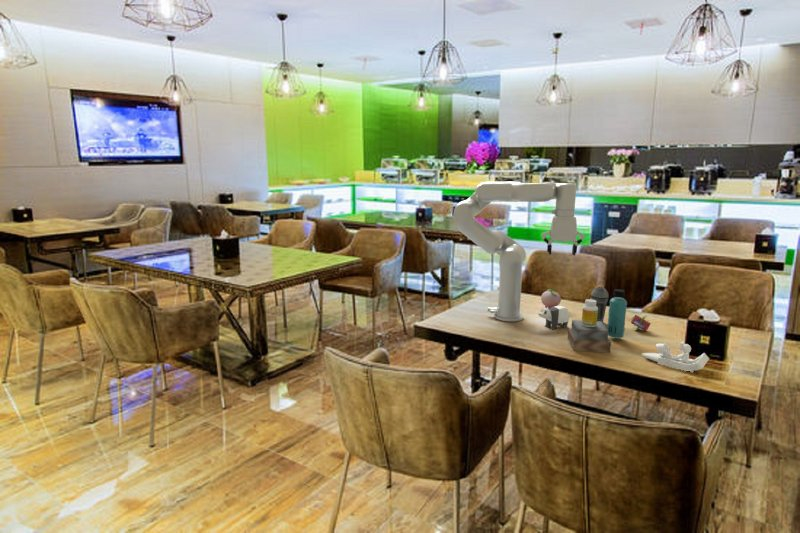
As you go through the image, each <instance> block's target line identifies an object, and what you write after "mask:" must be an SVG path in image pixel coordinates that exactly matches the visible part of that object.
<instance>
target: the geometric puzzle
mask: <svg viewBox="0 0 800 533" xmlns="http://www.w3.org/2000/svg"><path fill="white" fill-rule="evenodd" d="M647 317H648V316H647V315H644V316H642V317H641V316H640V315H639V314H635V315H634V316H632V317H631V322H630V324H631V325H633V329H634V332H638V331H639V330H641V331H643V332H646V333H647V331H648V330H649V328H650V326H651V324H652V323H651V322H649V320H648V319H646V318H647ZM635 327H636V328H635Z"/></svg>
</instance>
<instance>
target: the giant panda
mask: <svg viewBox="0 0 800 533" xmlns="http://www.w3.org/2000/svg"><path fill="white" fill-rule="evenodd" d="M538 316H539V317H540V318H542V319H545V325H544V327H545V328H550V330H556V329H557V327H558V326H560V327H561V328H562V329H563V328H567V327H568V324H569V321H570V311H569V309H568V308H567V307H565V306H561V305H558V306H555V307H552V308H549V307H546V306H545V305H544V307H543V308H542V309H541V310H540V312H539V313H538Z"/></svg>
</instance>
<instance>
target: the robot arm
mask: <svg viewBox="0 0 800 533" xmlns="http://www.w3.org/2000/svg"><path fill="white" fill-rule="evenodd" d="M576 195H577V186H576V183H572V182H560V183H559V182H552V181H545V182H542V183H541V182H540V183H539V182H537V183H535V182H532V183H530V182H529V183H526V182H525V183H523V182H518V181H489V180H487V181H482V182H480V183H478V184H477V186H476V187H475V191H474V192H473V193H472V194H471V195H470V196H469V197H468V198H467V199H465V200H461V201H459V202H458V203H457V204H456V205H455V207H454V210H453V216H452V217H453V222H454V225H455V227H456V228H457V230H458V231H459V232H460V233H462V234H463V235H464V236H465V237H467V238H468V239H469V240H471V241H472V243H474V244H475V245H477V247H479V248H481V249H482V250H483V251H485V253H487V254H489V255H490V254H491V255H495V254H497V255H498V256H499V259H498V260H499V261H498V266H499V267H498V268H499V276H498V277H499V280H498V281H499V282H498V283H499V284H498V285H499V286H498V301H497V302H498V303H497V304H498V305H496V306H494V307H489V306H488V307H487V312H488V313H490V314H494V315H493V317H494V319H496V320H498V321H502V322H508V323H509V322H511V323H512V322H514V323H515V322H520V321H523V319H524V315H523V314H522V313H520V312H521V297H522V296H521V295H522V281H523V280H522V278H523V276H522V274H523V271H522V270H523V263H524V261H525V260H526V256H527V254H526V250H525V247H523V246H522V245H521V244H519V242H516V240H514V239H513V238H512V237H510V236H508V235H507V234H506V233H504V232H503V231H500V230H498V229H493V230H491V229H489V228H488V227H486V226H485V225H484V224H483V223H481V222H480V221H477V220H476V219H475V217H476V216H478V215H479V214H480V213H481V212H482V211H483V210H484V209H485V208H487V206H489V205H490V204H491V203H492V202H493V203H495V202H499V203H501V202H504V203H506V202H508V203H509V202H510V203H517V202H519V203H520V202H521V203H523V202H525V203H526V202H527V203H528V202H529V203H536V202H537V203H538V202H540V203H545V202H549V201H551V200H555V209H553V210H551V214H553V215H554V216H552V221H551V226H550V229H549V230H547V231H544V232H542V233H541V237H542V240H543V241H544V242H545V243H546V244H547V249H546V251H547V252H546V253H548V255H552V248H553V247H552V244H553V242H569V243H570V242H572V243H573V244H572V250H571V254H572V256H575V255H576V254H577V251H578V247H579V245H580V244H581V243H582V242H583V240H584V238H585V237H586V235H585V234H583V233H582V232H580V231H578V225H577V216H575V211H576V210H575V207H576V198H577V197H576ZM547 236H549V239H547ZM578 236H579V239H577V237H578Z"/></svg>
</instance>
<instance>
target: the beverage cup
mask: <svg viewBox="0 0 800 533" xmlns="http://www.w3.org/2000/svg"><path fill="white" fill-rule="evenodd" d="M603 278H604V277H601V279H600V286H596V287H595V288H593V290H592V291H591V294H590V299H593V300H596V301H597V302H596V306H597V307H598V314H597V321H601V322H602V323H603V324H604V320H605V315H606V309H607V304H608V300H609V292H608V290H607V289H606V288H605V287H603Z"/></svg>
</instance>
